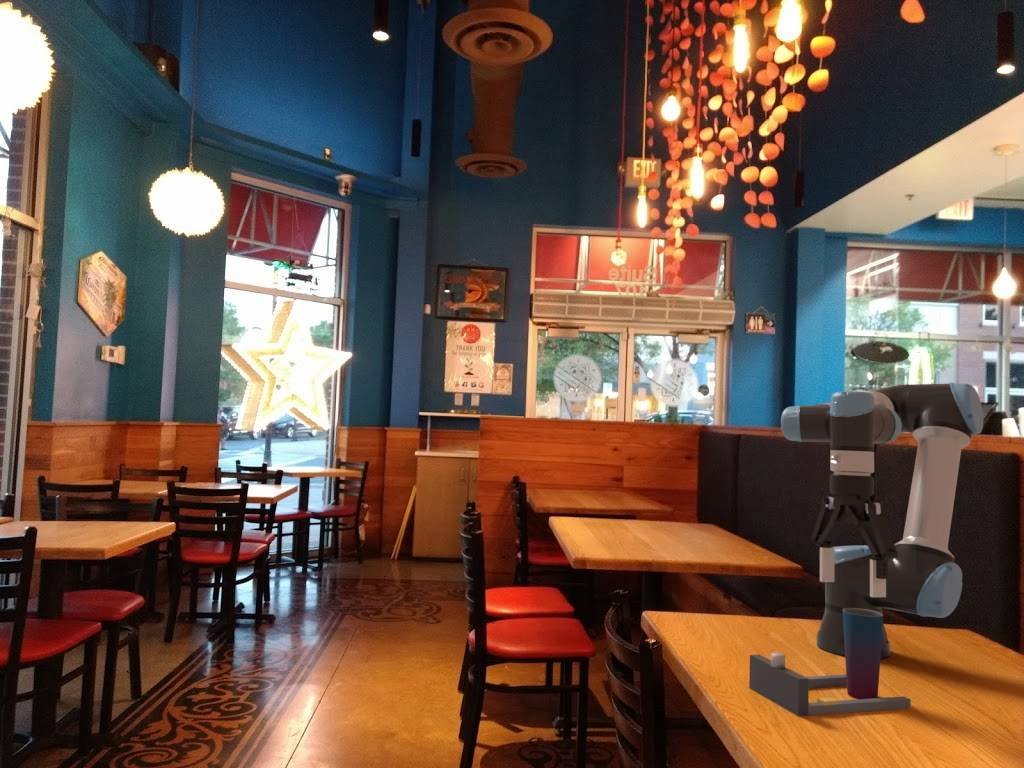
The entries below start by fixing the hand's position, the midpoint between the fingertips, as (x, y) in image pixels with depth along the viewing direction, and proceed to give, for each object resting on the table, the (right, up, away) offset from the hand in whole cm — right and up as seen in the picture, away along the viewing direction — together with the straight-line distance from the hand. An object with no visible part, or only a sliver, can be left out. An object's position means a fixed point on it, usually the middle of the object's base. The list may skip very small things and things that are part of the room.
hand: (851, 589), depth 137 cm
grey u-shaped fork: (-6, -19, -4) cm, 20 cm away
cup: (+1, -19, -2) cm, 19 cm away
